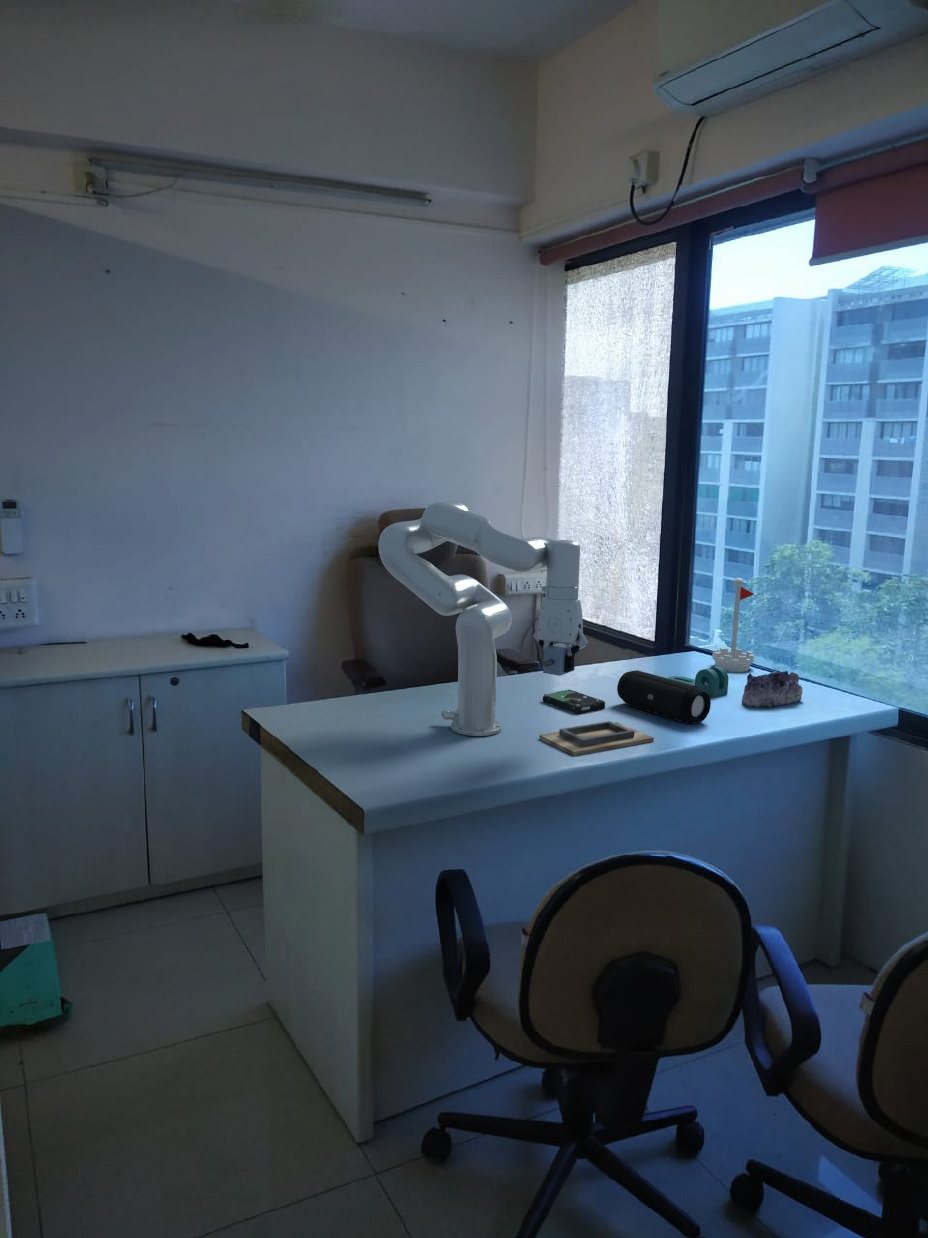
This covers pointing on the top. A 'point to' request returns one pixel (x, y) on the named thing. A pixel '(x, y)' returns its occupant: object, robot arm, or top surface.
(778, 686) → the geode
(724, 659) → the flag stand
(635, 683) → the portable speaker
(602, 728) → the end holder
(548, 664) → the connector plug
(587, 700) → the disk drive
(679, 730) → the top surface
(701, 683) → the bracket
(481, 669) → the robot arm
